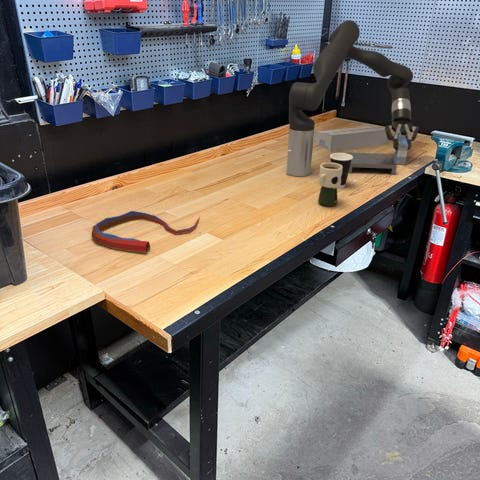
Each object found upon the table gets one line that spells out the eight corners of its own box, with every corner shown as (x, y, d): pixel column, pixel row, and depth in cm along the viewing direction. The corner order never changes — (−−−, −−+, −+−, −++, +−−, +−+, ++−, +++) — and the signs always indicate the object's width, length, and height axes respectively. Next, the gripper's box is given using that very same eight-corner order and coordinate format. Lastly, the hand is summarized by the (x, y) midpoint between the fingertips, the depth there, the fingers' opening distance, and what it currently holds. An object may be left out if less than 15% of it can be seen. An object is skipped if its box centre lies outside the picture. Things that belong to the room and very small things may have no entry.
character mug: (327, 211, 145) (331, 172, 139) (308, 205, 149) (312, 167, 143) (345, 202, 152) (350, 164, 145) (327, 196, 156) (331, 159, 150)
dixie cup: (323, 182, 167) (326, 153, 162) (343, 180, 169) (346, 152, 164) (332, 190, 161) (335, 160, 155) (353, 188, 162) (356, 158, 157)
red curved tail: (165, 206, 150) (163, 191, 148) (214, 222, 137) (213, 207, 135) (81, 240, 129) (78, 224, 127) (129, 264, 116) (126, 247, 114)
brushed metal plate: (347, 173, 177) (348, 163, 175) (343, 161, 189) (344, 152, 187) (395, 174, 175) (396, 164, 173) (388, 163, 188) (389, 153, 186)
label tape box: (405, 165, 186) (411, 135, 180) (394, 164, 186) (400, 134, 181) (402, 158, 193) (408, 129, 188) (392, 157, 194) (398, 129, 188)
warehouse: (367, 137, 224) (369, 122, 220) (386, 145, 212) (388, 129, 208) (314, 143, 213) (315, 127, 210) (330, 152, 202) (332, 135, 198)
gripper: (415, 117, 193) (417, 154, 188) (381, 116, 194) (382, 153, 190) (421, 107, 186) (423, 145, 181) (386, 106, 187) (386, 144, 182)
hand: (402, 149), depth 185 cm, fingers open, 4 cm apart
